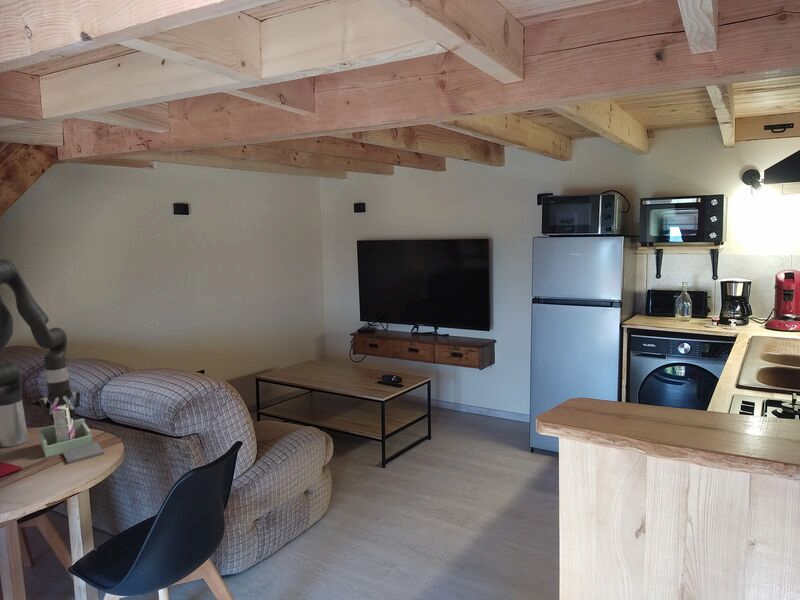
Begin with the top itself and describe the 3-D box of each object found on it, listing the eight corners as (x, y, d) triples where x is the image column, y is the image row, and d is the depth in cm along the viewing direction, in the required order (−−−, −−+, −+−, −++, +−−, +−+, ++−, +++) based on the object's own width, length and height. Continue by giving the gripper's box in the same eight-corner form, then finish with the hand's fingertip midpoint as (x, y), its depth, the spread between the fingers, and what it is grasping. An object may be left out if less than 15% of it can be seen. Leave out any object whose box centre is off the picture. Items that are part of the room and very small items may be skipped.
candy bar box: (62, 440, 228) (56, 401, 226) (76, 438, 230) (70, 399, 228) (56, 450, 218) (51, 410, 215) (71, 448, 220) (66, 408, 217)
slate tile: (63, 453, 216) (62, 451, 216) (97, 444, 223) (97, 442, 223) (68, 463, 207) (67, 461, 206) (104, 454, 214) (103, 451, 214)
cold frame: (41, 445, 225) (38, 428, 224) (86, 434, 235) (83, 418, 234) (46, 457, 213) (43, 439, 212) (93, 445, 223) (90, 428, 222)
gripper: (76, 373, 227) (82, 413, 230) (34, 381, 218) (40, 422, 221) (80, 377, 221) (85, 418, 224) (37, 385, 212) (43, 427, 215)
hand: (63, 420), depth 222 cm, fingers closed on candy bar box, 5 cm apart
